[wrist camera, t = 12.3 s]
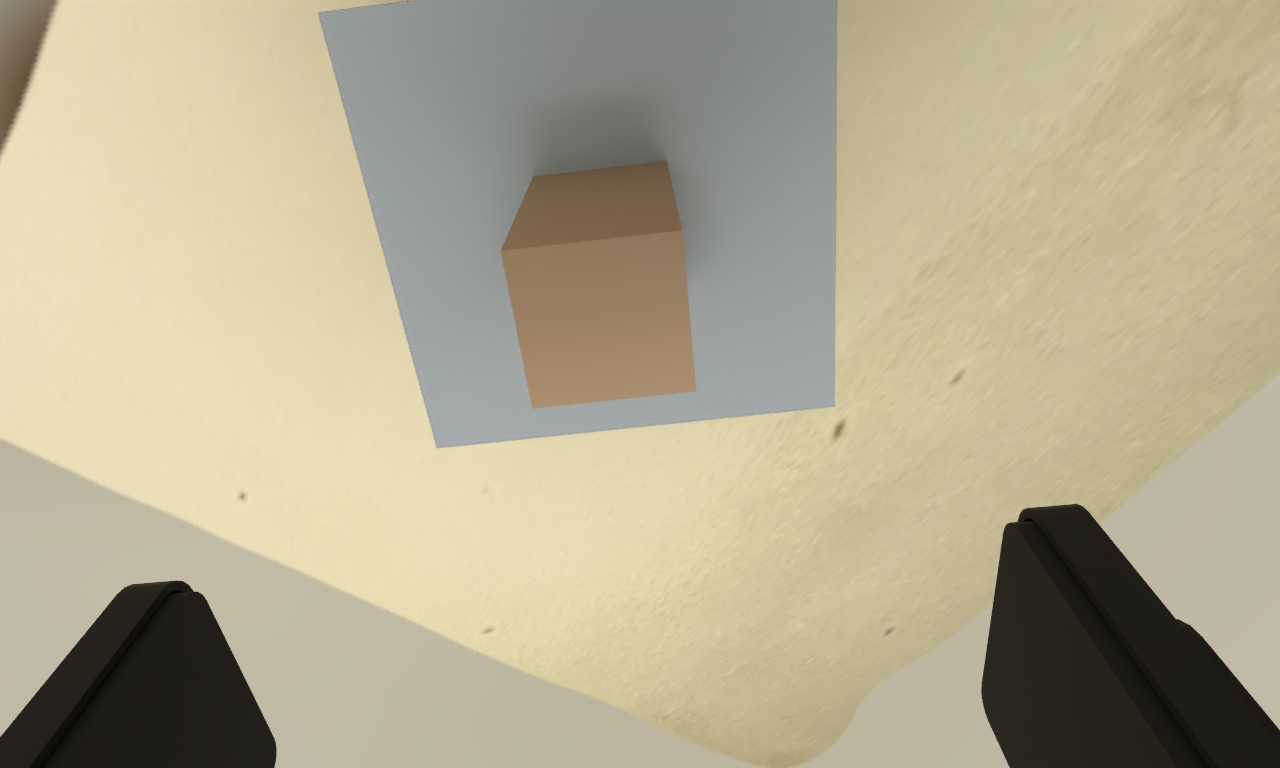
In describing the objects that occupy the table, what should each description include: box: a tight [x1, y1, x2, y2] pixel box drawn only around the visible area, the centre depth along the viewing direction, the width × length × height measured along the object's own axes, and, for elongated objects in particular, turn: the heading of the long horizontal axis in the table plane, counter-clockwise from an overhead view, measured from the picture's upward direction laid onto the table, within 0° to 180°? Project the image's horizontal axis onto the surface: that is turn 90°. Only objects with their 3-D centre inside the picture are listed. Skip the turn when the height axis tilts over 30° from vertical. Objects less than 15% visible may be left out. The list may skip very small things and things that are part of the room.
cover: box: [318, 0, 837, 448], centre depth 22 cm, size 14×14×8 cm
